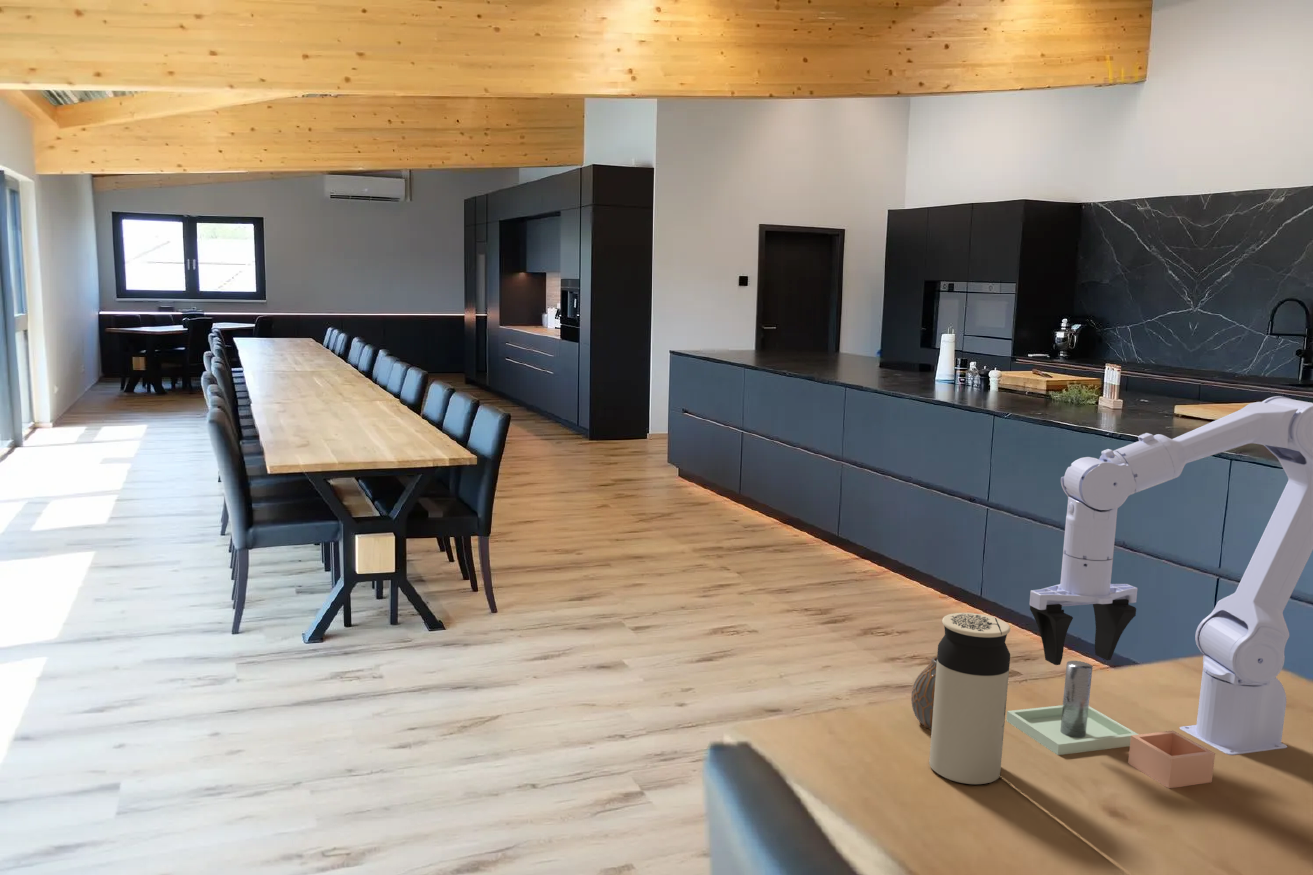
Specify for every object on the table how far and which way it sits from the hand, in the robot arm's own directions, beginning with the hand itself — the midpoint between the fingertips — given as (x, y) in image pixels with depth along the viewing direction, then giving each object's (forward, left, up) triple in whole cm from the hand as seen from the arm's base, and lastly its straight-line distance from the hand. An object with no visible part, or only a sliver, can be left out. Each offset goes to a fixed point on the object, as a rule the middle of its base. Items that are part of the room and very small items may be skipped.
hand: (1078, 659), depth 126 cm
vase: (+15, -7, -10) cm, 20 cm away
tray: (0, 0, -10) cm, 10 cm away
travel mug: (+19, +5, -10) cm, 22 cm away
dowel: (0, 0, -10) cm, 10 cm away
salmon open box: (-4, +12, -10) cm, 16 cm away
